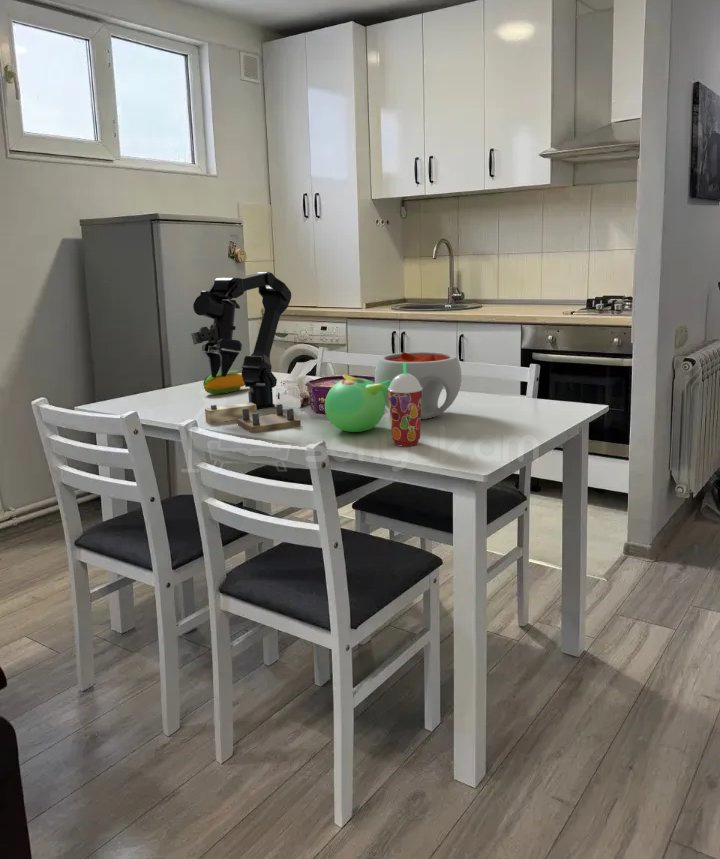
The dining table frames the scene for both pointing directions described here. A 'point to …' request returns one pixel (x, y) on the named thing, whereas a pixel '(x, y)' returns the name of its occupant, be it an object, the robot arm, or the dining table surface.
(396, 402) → the smoothie
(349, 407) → the toy bird
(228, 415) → the wooden block
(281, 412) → the peg rest
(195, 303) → the robot arm
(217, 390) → the corn
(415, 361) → the pot
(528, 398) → the dining table surface
